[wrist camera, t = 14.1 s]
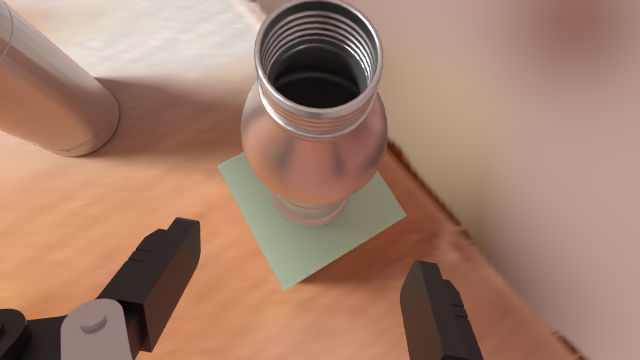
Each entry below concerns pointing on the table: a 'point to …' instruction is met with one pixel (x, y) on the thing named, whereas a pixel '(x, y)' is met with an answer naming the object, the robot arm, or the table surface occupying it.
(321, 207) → the plastic bottle
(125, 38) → the table surface
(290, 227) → the raised stand
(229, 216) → the table surface
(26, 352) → the robot arm
